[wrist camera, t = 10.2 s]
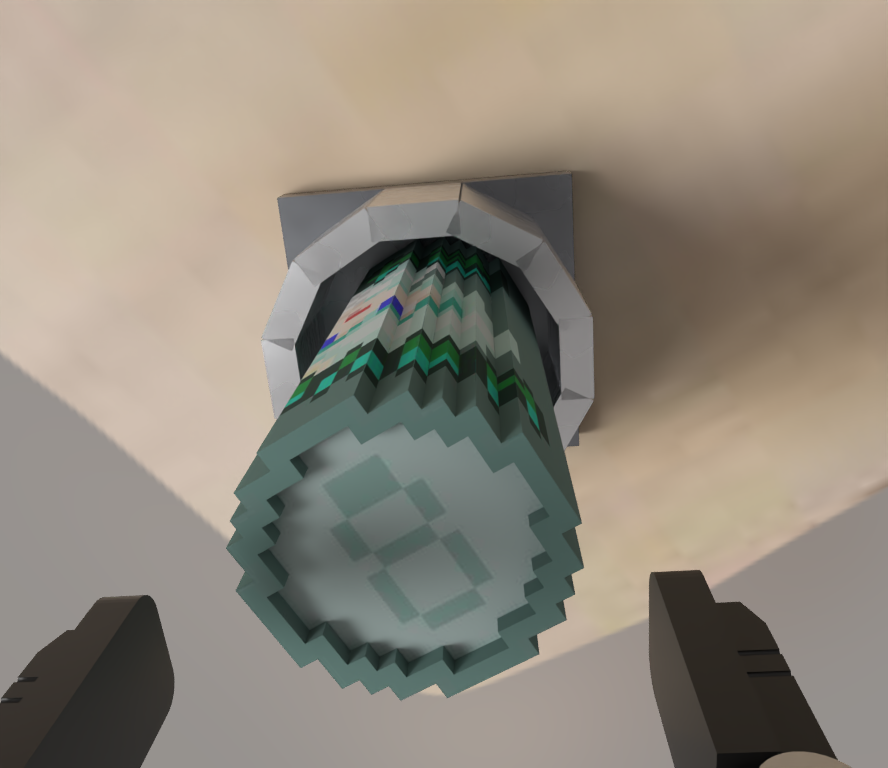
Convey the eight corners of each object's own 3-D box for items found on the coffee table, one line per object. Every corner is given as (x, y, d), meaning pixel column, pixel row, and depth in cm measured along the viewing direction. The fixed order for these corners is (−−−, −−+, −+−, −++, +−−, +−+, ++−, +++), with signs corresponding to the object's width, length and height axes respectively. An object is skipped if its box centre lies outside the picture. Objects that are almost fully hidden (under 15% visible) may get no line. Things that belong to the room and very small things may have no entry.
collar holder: (568, 170, 27) (590, 188, 22) (575, 434, 30) (596, 504, 25) (283, 194, 28) (239, 217, 22) (322, 450, 31) (292, 521, 26)
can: (467, 206, 26) (457, 332, 12) (556, 351, 28) (636, 607, 14) (322, 299, 28) (165, 507, 14) (416, 432, 29) (361, 739, 15)
